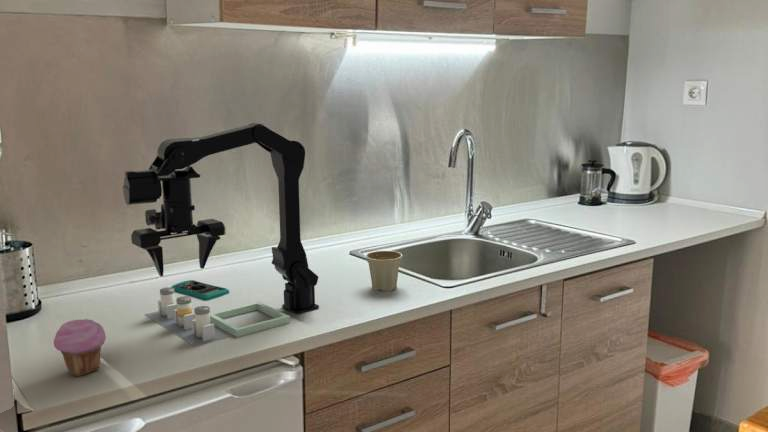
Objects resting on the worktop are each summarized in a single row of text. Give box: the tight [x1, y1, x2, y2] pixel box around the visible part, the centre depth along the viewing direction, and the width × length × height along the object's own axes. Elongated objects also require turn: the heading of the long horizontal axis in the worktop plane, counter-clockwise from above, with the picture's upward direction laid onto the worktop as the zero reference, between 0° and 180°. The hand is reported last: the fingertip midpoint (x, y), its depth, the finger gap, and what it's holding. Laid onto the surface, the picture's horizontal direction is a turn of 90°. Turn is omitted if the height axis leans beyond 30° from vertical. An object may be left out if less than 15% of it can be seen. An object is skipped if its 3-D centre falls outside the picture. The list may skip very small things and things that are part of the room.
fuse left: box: [159, 286, 176, 317], centre depth 162 cm, size 3×3×6 cm
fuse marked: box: [175, 295, 193, 328], centre depth 156 cm, size 3×3×6 cm
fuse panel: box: [144, 299, 231, 347], centre depth 157 cm, size 8×25×4 cm, turn 40°
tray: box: [210, 301, 291, 338], centre depth 159 cm, size 13×13×3 cm
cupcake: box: [53, 318, 107, 377], centre depth 136 cm, size 9×9×10 cm
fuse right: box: [193, 305, 211, 339], centre depth 150 cm, size 3×3×6 cm
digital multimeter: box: [171, 279, 230, 301], centre depth 180 cm, size 7×15×3 cm, turn 54°
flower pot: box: [365, 250, 403, 292], centre depth 185 cm, size 9×9×9 cm
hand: (181, 272), depth 155 cm, fingers open, 9 cm apart
